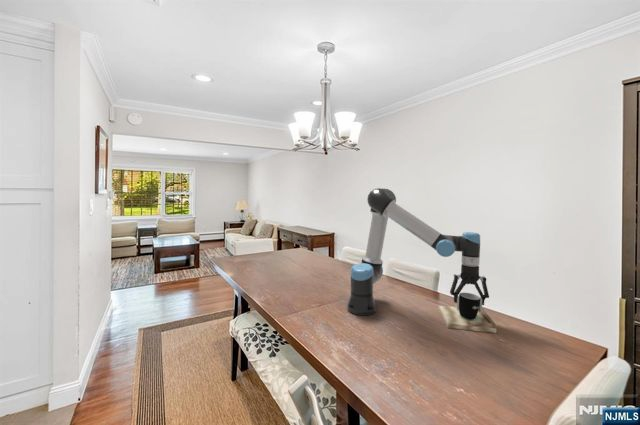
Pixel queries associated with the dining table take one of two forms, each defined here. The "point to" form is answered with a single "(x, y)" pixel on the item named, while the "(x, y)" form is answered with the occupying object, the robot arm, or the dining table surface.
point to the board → (467, 320)
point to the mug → (468, 305)
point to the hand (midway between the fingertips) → (468, 310)
